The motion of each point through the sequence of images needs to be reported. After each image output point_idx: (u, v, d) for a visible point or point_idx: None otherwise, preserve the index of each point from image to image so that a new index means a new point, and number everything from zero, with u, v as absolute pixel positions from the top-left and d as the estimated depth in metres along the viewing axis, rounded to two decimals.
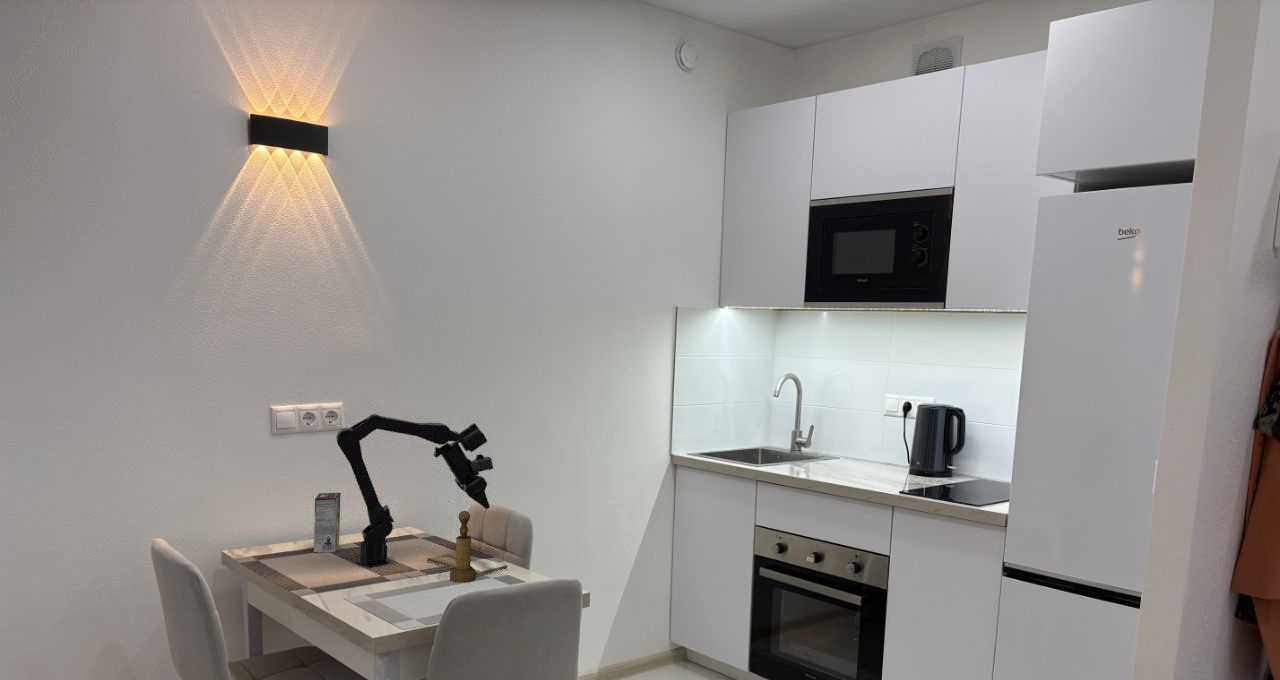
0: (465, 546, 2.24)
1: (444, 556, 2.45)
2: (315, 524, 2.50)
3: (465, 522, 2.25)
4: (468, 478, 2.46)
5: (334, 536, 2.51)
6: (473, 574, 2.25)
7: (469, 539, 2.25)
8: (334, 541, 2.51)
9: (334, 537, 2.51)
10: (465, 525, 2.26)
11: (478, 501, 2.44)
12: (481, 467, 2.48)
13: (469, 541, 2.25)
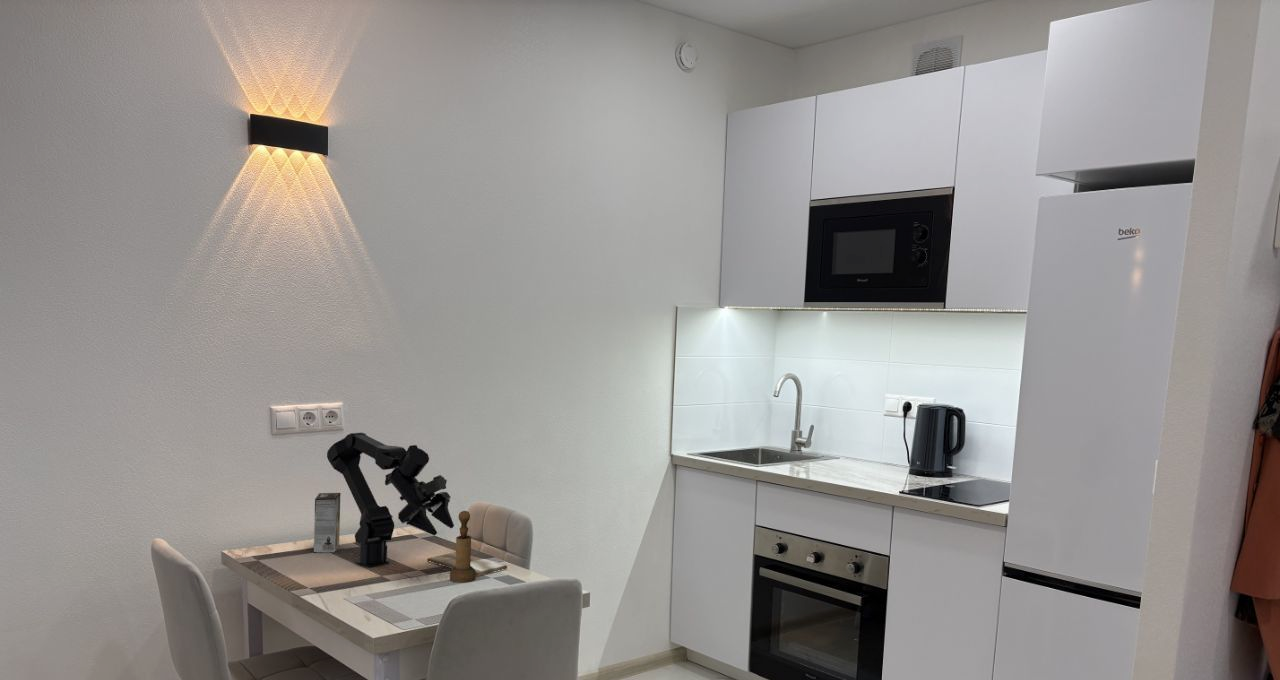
0: (465, 546, 2.24)
1: (444, 556, 2.45)
2: (315, 524, 2.50)
3: (465, 522, 2.25)
4: None
5: (334, 536, 2.51)
6: (473, 574, 2.25)
7: (469, 539, 2.25)
8: (334, 541, 2.51)
9: (334, 537, 2.51)
10: (465, 525, 2.26)
11: (421, 528, 2.23)
12: (426, 490, 2.27)
13: (469, 541, 2.25)
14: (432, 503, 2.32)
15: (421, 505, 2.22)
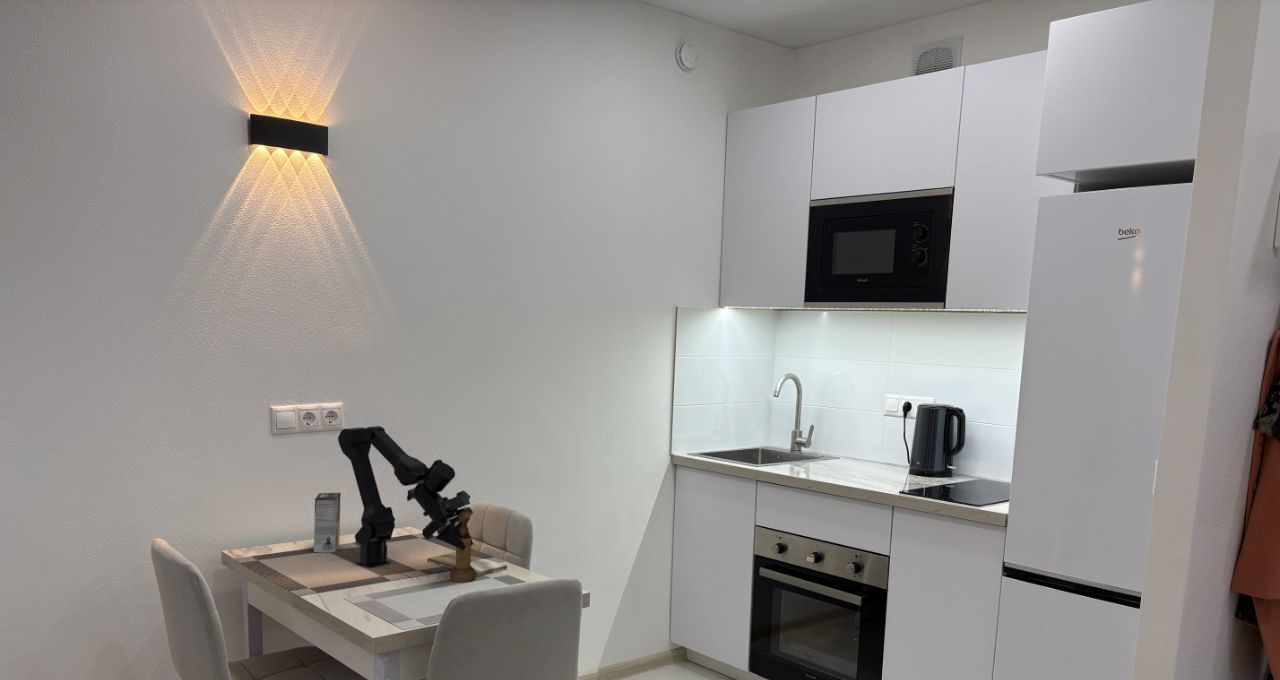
0: None
1: (444, 556, 2.45)
2: (315, 524, 2.50)
3: (465, 522, 2.26)
4: None
5: (334, 536, 2.51)
6: (473, 574, 2.25)
7: (469, 539, 2.25)
8: (334, 541, 2.51)
9: (334, 537, 2.51)
10: (465, 525, 2.26)
11: (449, 542, 2.24)
12: (450, 506, 2.25)
13: (469, 541, 2.25)
14: (455, 519, 2.31)
15: (446, 521, 2.21)
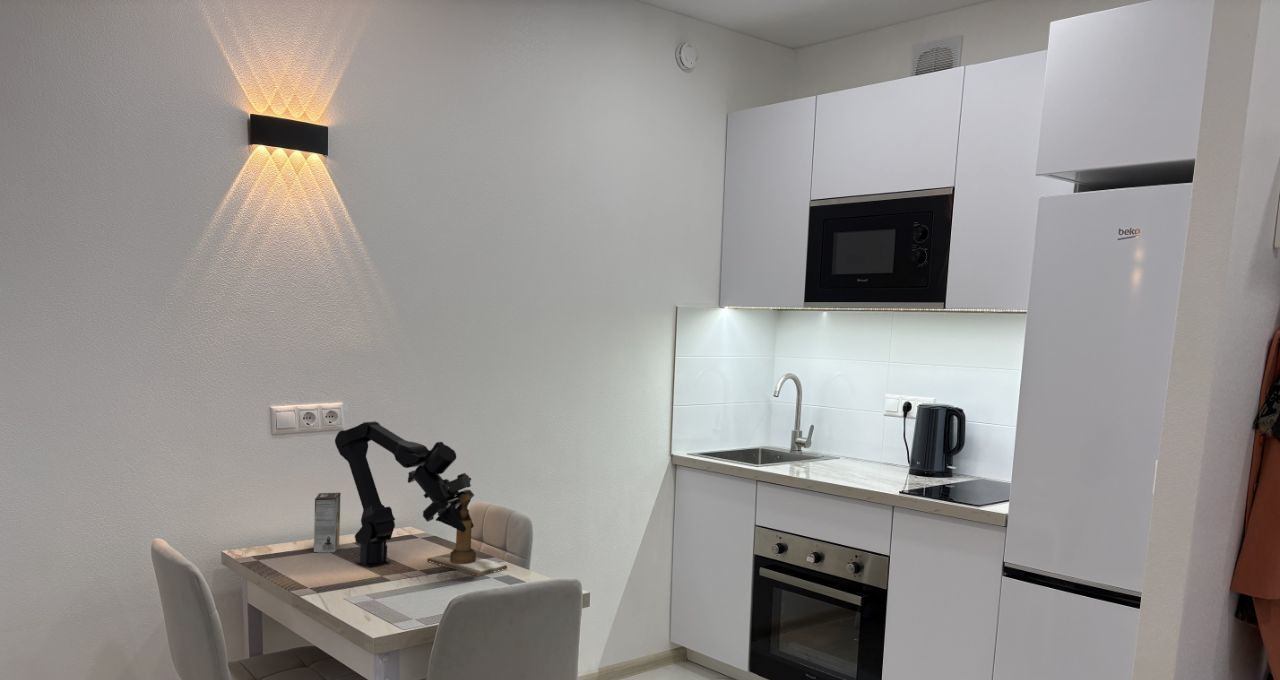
0: None
1: (444, 556, 2.45)
2: (315, 524, 2.50)
3: (466, 504, 2.26)
4: None
5: (334, 536, 2.51)
6: (473, 556, 2.25)
7: (470, 521, 2.26)
8: (334, 541, 2.51)
9: (334, 537, 2.51)
10: (466, 507, 2.26)
11: (450, 524, 2.24)
12: (451, 488, 2.25)
13: (470, 523, 2.26)
14: (456, 501, 2.31)
15: (446, 503, 2.21)
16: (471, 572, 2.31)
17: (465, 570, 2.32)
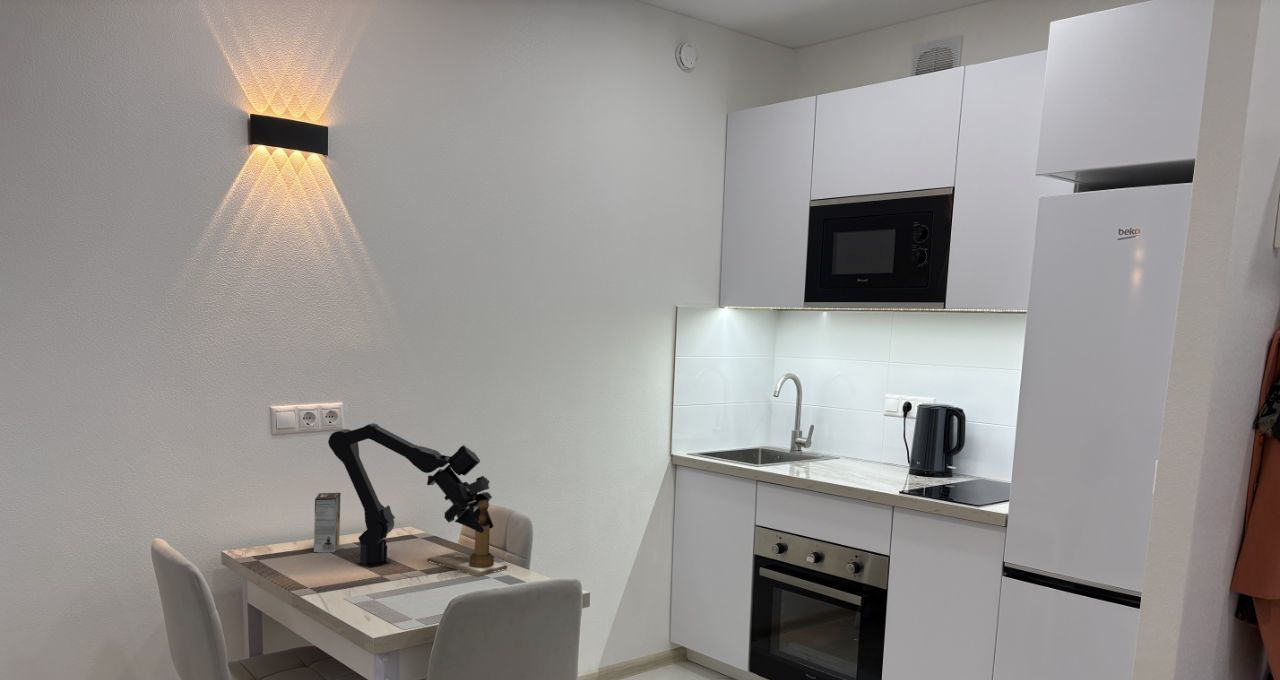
0: (484, 533, 2.35)
1: (444, 556, 2.45)
2: (315, 524, 2.50)
3: (484, 510, 2.36)
4: None
5: (334, 536, 2.51)
6: (491, 560, 2.35)
7: (488, 526, 2.35)
8: (334, 541, 2.51)
9: (334, 537, 2.51)
10: (484, 513, 2.36)
11: (468, 525, 2.33)
12: (470, 490, 2.35)
13: (488, 528, 2.35)
14: (475, 503, 2.41)
15: (467, 505, 2.31)
16: (471, 572, 2.31)
17: (465, 570, 2.32)
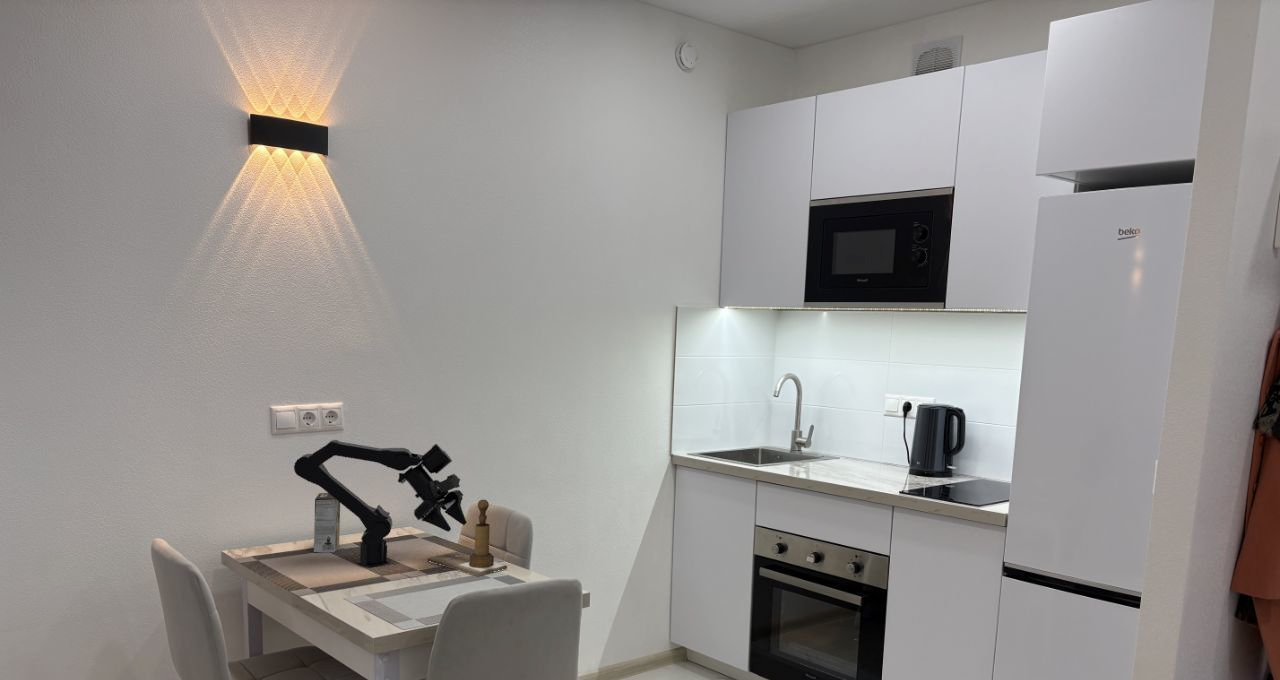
0: (484, 533, 2.35)
1: (444, 556, 2.45)
2: (315, 524, 2.50)
3: (484, 510, 2.36)
4: None
5: (334, 536, 2.51)
6: (491, 560, 2.35)
7: (488, 526, 2.36)
8: (334, 541, 2.51)
9: (334, 537, 2.51)
10: (484, 513, 2.36)
11: (435, 524, 2.34)
12: (440, 488, 2.37)
13: (488, 528, 2.36)
14: (446, 501, 2.43)
15: (436, 502, 2.33)
16: (471, 572, 2.31)
17: (465, 570, 2.32)
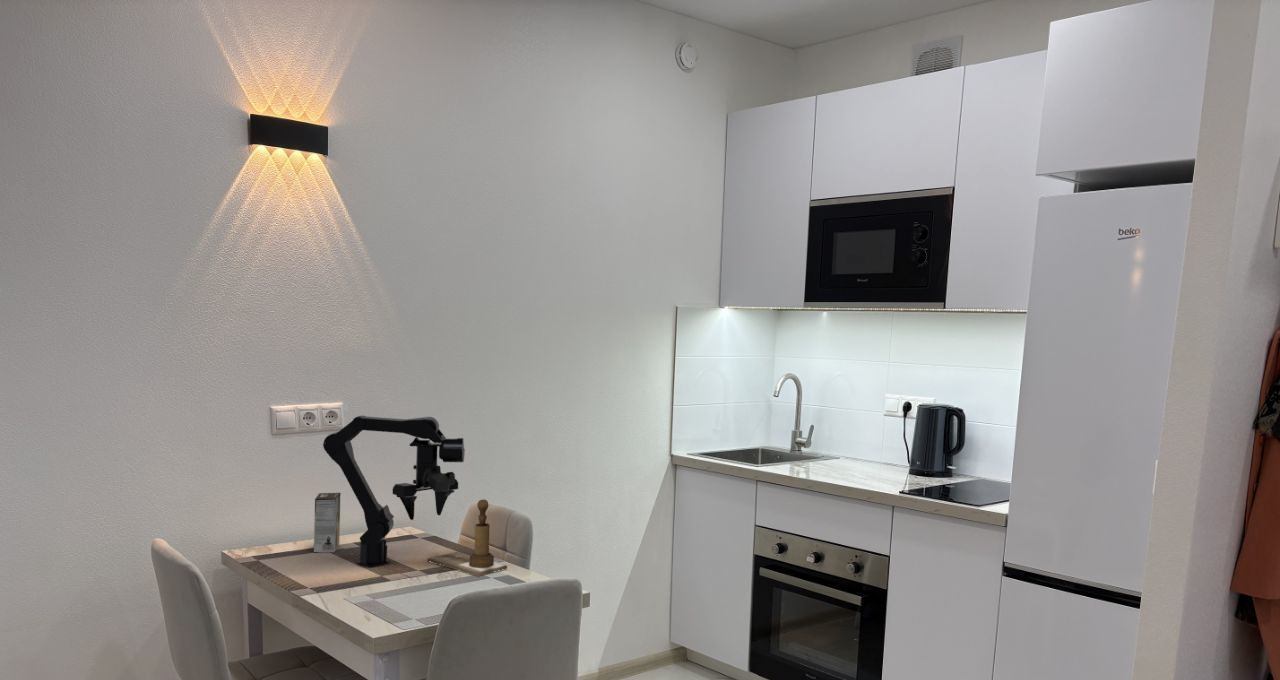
0: (484, 533, 2.35)
1: (444, 556, 2.45)
2: (315, 524, 2.50)
3: (484, 510, 2.36)
4: (417, 482, 2.39)
5: (334, 536, 2.51)
6: (491, 560, 2.35)
7: (487, 526, 2.36)
8: (334, 541, 2.51)
9: (334, 537, 2.51)
10: (484, 513, 2.36)
11: (405, 506, 2.37)
12: (429, 482, 2.36)
13: (487, 528, 2.36)
14: None
15: (413, 494, 2.34)
16: (471, 572, 2.31)
17: (465, 570, 2.32)
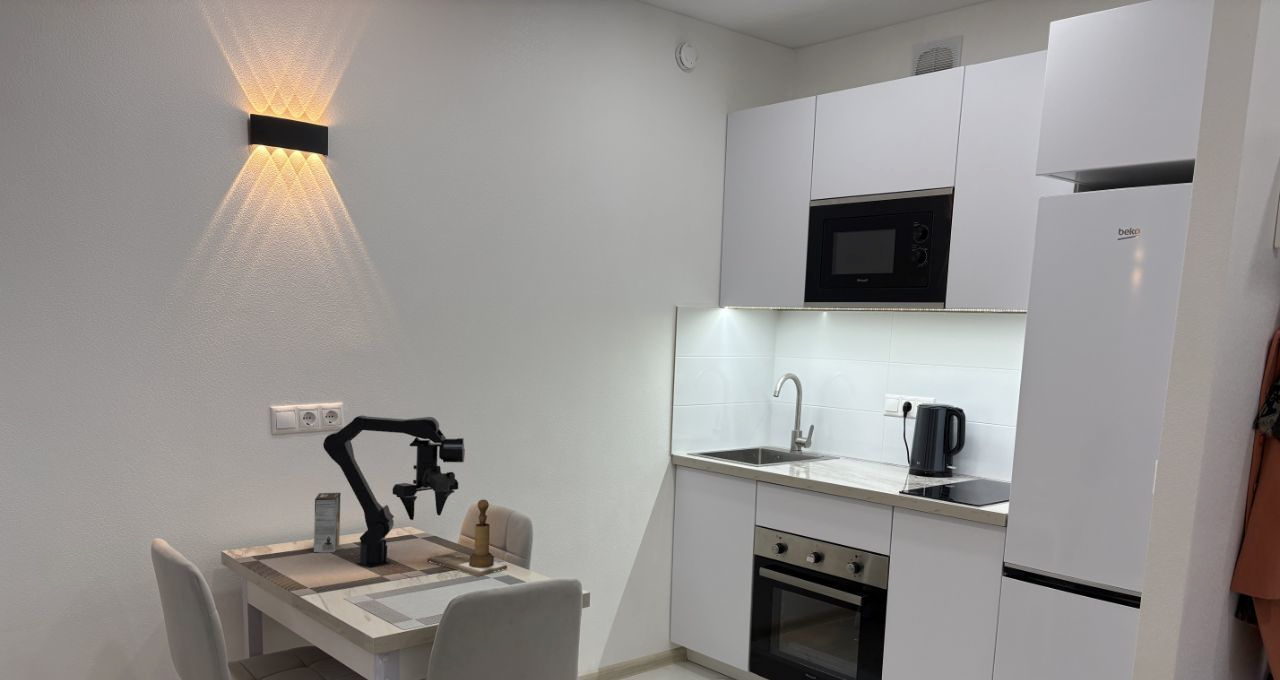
0: (484, 533, 2.35)
1: (444, 556, 2.45)
2: (315, 524, 2.50)
3: (484, 510, 2.36)
4: (417, 482, 2.39)
5: (334, 536, 2.51)
6: (491, 560, 2.35)
7: (488, 526, 2.36)
8: (334, 541, 2.51)
9: (334, 537, 2.51)
10: (484, 513, 2.36)
11: (405, 506, 2.37)
12: (429, 482, 2.36)
13: (488, 528, 2.36)
14: None
15: (413, 494, 2.34)
16: (471, 572, 2.31)
17: (465, 570, 2.32)
